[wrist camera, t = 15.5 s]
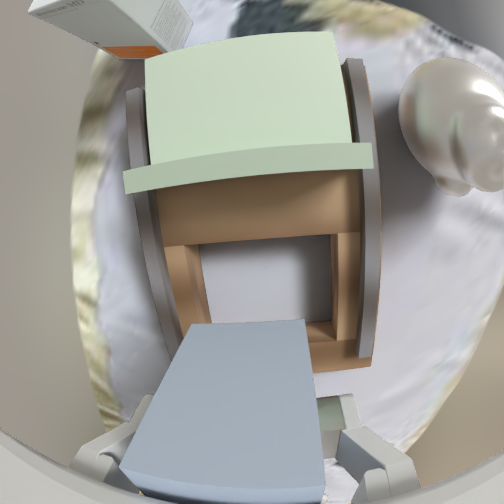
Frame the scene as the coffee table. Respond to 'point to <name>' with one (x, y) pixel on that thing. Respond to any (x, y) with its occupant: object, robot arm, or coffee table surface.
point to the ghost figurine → (455, 125)
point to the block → (233, 420)
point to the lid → (246, 111)
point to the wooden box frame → (269, 232)
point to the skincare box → (120, 24)
